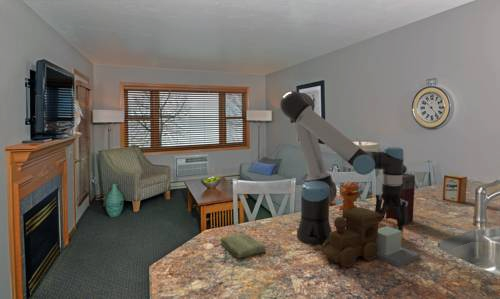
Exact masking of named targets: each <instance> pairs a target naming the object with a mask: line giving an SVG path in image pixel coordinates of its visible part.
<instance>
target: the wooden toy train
mask: <svg viewBox="0 0 500 299" xmlns="http://www.w3.org/2000/svg"><path fill="white" fill-rule="evenodd" d="M379 222H382V214H380V213H378V212H375V210H372V209H369V208H366V207H365V208H364V207H358V208H352V209H347V210H344V211H343V210H342V216H337V217H336V218H335V219H334V220H333V224H334V227H335V229H336V230H332V232H330V234H329V238H328V239H327V240H325V242H324V244H322V248H321V249H322V251H321V252H322V253H321V254H322V255H324V256H325V257H327V258H329V260H330V259H331V260H332V261H334V262H335V263H340V265H341V266H342V268H350V267H353V265H354V264H355V263H356V260H357V258H358V257H361V256H362V258H363V259H364V260H365V261H366V262H367V261H369V262H370V261H373V260H374V259H376V258H377V257H376V255H377V253H378V247H377V242H376V239H377V234H378V223H379Z"/></svg>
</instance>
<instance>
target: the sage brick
mask: <svg viewBox="0 0 500 299" xmlns="http://www.w3.org/2000/svg"><path fill="white" fill-rule="evenodd" d="M401 236H402V231H400V230H397V229H394V228H391V227H388V226H386V227H382V228H379V229H378V234H377V239H376V242H377V247H378V251H379V252H381V253H383V254H389V253H392V252H394V251H397V250H400V249H401V247H402V238H401Z"/></svg>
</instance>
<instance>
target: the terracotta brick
mask: <svg viewBox="0 0 500 299" xmlns="http://www.w3.org/2000/svg"><path fill="white" fill-rule="evenodd" d="M384 219H385V220H382V222H379V223H378V229H379V228H382V227H386V226H388V227H391V228H394V229H396V225H398V224H397V220H395V219H391V218H389V219H386V218H384ZM403 236H404V232H403V233H402V236H401V239H403Z"/></svg>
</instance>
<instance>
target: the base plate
mask: <svg viewBox="0 0 500 299" xmlns="http://www.w3.org/2000/svg"><path fill="white" fill-rule="evenodd" d="M375 258H377V259H379V260H381V259H382V260H381V261H383V260H384V262H386V263H388V264H390V263H391V265H392V264H393V265H392V266H394V265H395V266H394V267H396V266H397V268H400V267H402V265H403V266H405V265H406V264H409V262H410V263H411V262H413V261H414V262H415V261H416V260H418V259H421V254H420V253H418V252H417V251H413V250H411V249H407V248H405V247H403V246H401V249H400V250H397V251H394V252H392V253H389V254H383V253H381V252H379V251H378V253H377V255H376V257H375ZM404 264H405V265H404Z"/></svg>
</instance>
